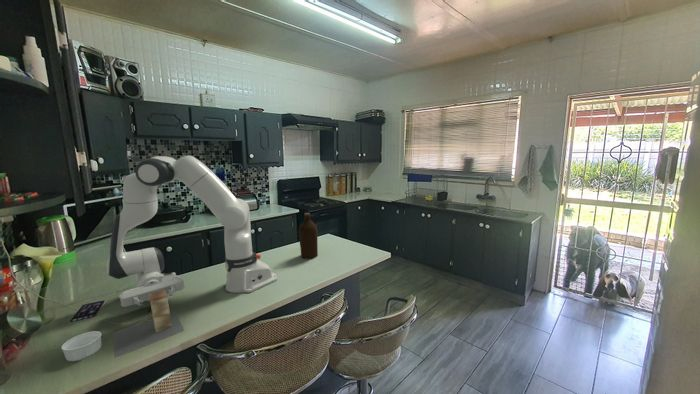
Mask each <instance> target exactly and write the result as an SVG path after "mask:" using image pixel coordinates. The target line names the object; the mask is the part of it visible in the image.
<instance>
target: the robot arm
mask: <svg viewBox="0 0 700 394" xmlns="http://www.w3.org/2000/svg"><path fill="white" fill-rule="evenodd" d="M175 180H177V181H179V182H182V183H183V184H184V185H185V187H187V188H188V189H189V190H190V191H192V193H194V194H195V196H196V197H198V198H199V200H201V201H202V202H203V203H204V204H205V205H206V206H207V208H208V209H209V211H210V212H211V213H212V214H213V215H214V216H215V217H216V219H217V220H218V222H220V224H221V225H222V227H223V229H224V231H223V232H224V237H223V238H224V241H223V242H224V251H225V257H224V261H225V262H224V264H225V270H226V282H225V286H224V287H225V288H224V289H225V291H226V292H228V293H233V294H235V293H252V292H255V291H257V290H259V289H261V288H263V287H265V286H267V285H270V284H272V283H274V282H275V281H276V282H277V280H278V275H277V274H276V273H274V272H273V271H272V269H271V267H270V265H268V264H267V263H265V262H263V261H261V260H260V259H261V258H262V255H261V254H259V253H256V252H254V251H253V244H252V230H251V228H252V227H251V226H252V225H251V216H250V215H251V213H250V206H249V204H248V203H247V201H246V200H245V199H242V198H236V196H235V195H234V194H233V192H232V191H231V190H230V189H229V187H227V185H226V184H225V182H224V181H222V180H221V179H220V178H219V177H218V175H216V174H215V173H214V172H213V171H212V170H211V169H210V168H209V167H208V166H207V165H206V164H204V163H203V162H202V161H200V160H199V159H198V158H196V157H195V156H192V155H184V156H181V157H180V158H176V157H174V156H171V155H162V156H160V155H157V156H151V157H149V158H145V159H143V160H140V162H139V163H138V164H136V167H135V171H134V173H130V174H128V175H126V176H125V178H124V180H123V185H122V186H123V188H122V189H123V190H122V201H123V207H122V210H121V211H120V213H117V215H115V217H114V219H113V222H112V223H113V224H112V228H111V237H110V247H109V255H108V259H107V262H106V271H107V274H108V276H109V277H112V278H114V279H117V280H120V279H124V278H128V277H129V276H133V275H134V276H135V275H136V276H135V277H136V278H135V283H136V286H137V287H134V288H131V289H127V290H125V291H122V293H121V294H119V296H118V298H119V300H120V306H121V307H122V308H126V307H129V306H132V305H133V306H134V305H137V306H142V305H144V302H146V301H150V296H149V294H152V293H155V292H159V291H162V290H165V291H166V293H167V295H168V297H171V296H174V295H175V293H176V292H179V291H183V290H184V289H185V282H184V279H183V278H182V277H181V276H180V275H177V274H176V272H169V273H168V272H167V273H162V272H163V271H164V269H165V258H164V255H163V253H162V251H161V250H160V249H159V248H157V247H154V246H153V247H146V248H141V249H138V250H131V251H124V245H125V244H124V243H125V242H124V241H125V237H126V233H128V231H130V230H131V229H133V228H135V227H137V226H139V225H142V224H144V223H146V222H148V221H150V220H152V218H153V217H155V215H156V214H157V213H158V208H159V206H158V205H159V203H158V187H159V186H163V185H165V184H169V183H172V182H173V181H175Z"/></svg>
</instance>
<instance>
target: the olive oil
mask: <svg viewBox="0 0 700 394" xmlns="http://www.w3.org/2000/svg"><path fill="white" fill-rule="evenodd" d="M303 215H304V216H303V218H304V219H303V221H302V222H301V223H300V224H299V227H298V237H299V238H298V239H299V247H300V255H301V256H300V257H301V258H303V259H306V260H309V259H311V260H312V259H314V258H317V257H318V255H319V254H318V253H319V251H318V227H317V224H316V223H315V222H314V221H312V220H311V213H310V212H304V214H303Z"/></svg>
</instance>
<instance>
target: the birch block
mask: <svg viewBox="0 0 700 394" xmlns="http://www.w3.org/2000/svg"><path fill="white" fill-rule="evenodd" d="M149 296H150V300H149V301H150V308H151V314H152V319H153V322H154V327H155V330H156V332H159V331H161V330H164V329H167V328H169V327H172V325H171V318H170V313H171V311H170V306H169V299H168V297H169V296H168V294H167V293H166V291H165V290H162V291H159V292H155V293H152V294H149Z"/></svg>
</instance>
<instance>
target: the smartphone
mask: <svg viewBox="0 0 700 394" xmlns="http://www.w3.org/2000/svg"><path fill="white" fill-rule="evenodd" d="M105 303H106V300H105V299H102V300H98V301H93V302H88V303H84V304H81V306H80V307H79V308H78V310H77V311H76V312H75V313H74V314H73V316H72V317H71V318H70V319H69V321H68V323H69V324H73V323H79V322H81V321H83V322H84V321H87V320H90V319H94V318H96V317H97V315H98V314H99V312H100V311H101V309H102V307H103V306H104V305H105Z"/></svg>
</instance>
